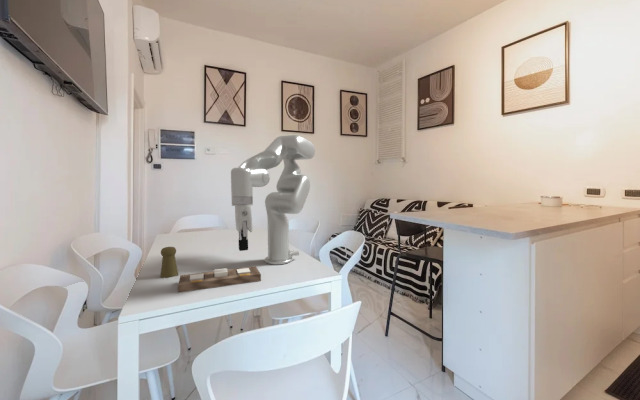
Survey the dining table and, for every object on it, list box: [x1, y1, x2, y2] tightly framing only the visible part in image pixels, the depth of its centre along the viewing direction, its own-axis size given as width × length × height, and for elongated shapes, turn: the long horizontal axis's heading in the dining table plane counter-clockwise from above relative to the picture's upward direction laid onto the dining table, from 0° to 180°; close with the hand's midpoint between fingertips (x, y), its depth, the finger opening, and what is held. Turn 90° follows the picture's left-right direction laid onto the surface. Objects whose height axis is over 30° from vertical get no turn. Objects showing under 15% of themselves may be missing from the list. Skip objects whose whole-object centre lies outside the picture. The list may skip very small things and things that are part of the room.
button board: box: [177, 265, 262, 293], centre depth 99 cm, size 27×10×3 cm, turn 114°
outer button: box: [190, 272, 204, 281], centre depth 96 cm, size 4×4×2 cm
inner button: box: [236, 267, 250, 275], centre depth 102 cm, size 4×4×2 cm
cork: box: [160, 246, 179, 279], centre depth 105 cm, size 6×6×11 cm
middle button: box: [213, 267, 228, 278], centre depth 99 cm, size 4×4×2 cm
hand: (243, 249), depth 102 cm, fingers closed
